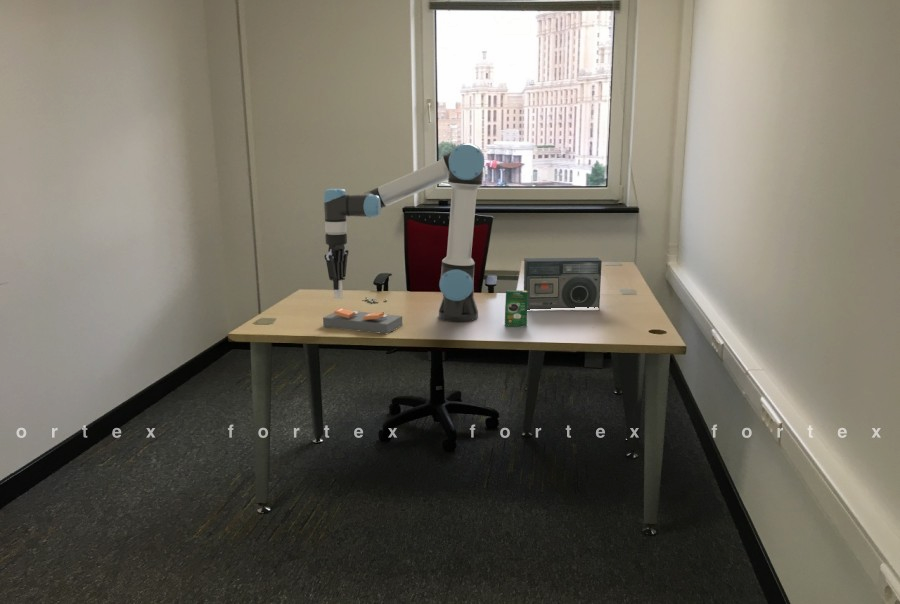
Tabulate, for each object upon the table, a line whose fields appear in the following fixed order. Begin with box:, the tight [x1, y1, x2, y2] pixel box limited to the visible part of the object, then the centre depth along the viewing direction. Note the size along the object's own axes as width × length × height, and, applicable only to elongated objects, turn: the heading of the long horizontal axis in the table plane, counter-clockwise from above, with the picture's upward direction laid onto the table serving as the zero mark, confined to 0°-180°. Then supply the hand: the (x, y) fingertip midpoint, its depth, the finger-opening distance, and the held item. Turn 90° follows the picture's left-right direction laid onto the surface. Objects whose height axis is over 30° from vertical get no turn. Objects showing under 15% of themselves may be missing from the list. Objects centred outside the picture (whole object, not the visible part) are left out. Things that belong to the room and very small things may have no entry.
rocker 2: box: [363, 312, 385, 320], centre depth 239 cm, size 6×4×1 cm
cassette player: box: [523, 257, 603, 310], centre depth 265 cm, size 29×7×20 cm, turn 91°
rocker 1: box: [333, 307, 355, 318], centre depth 243 cm, size 6×4×1 cm
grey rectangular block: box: [322, 310, 403, 334], centre depth 244 cm, size 26×12×4 cm, turn 68°
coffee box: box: [504, 289, 528, 327], centre depth 242 cm, size 8×3×13 cm, turn 89°
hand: (338, 297), depth 242 cm, fingers closed
